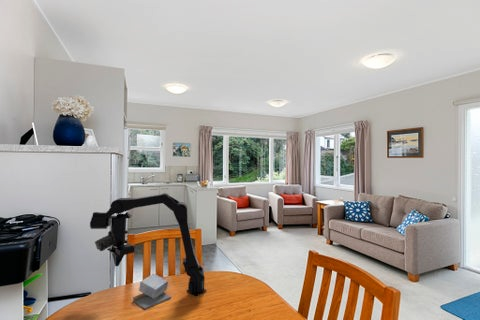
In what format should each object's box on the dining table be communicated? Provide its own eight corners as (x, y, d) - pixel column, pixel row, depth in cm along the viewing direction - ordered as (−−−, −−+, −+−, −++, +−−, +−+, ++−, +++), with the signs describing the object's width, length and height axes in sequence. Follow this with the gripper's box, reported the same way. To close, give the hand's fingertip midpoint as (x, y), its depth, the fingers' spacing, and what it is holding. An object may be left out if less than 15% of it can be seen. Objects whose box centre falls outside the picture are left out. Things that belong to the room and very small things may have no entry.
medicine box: (138, 290, 109) (153, 299, 106) (140, 280, 109) (155, 290, 105) (151, 282, 116) (166, 290, 113) (153, 272, 116) (168, 281, 112)
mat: (159, 290, 114) (159, 287, 114) (171, 298, 109) (171, 294, 109) (132, 301, 105) (133, 297, 105) (144, 309, 99) (144, 305, 99)
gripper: (89, 227, 109) (87, 265, 109) (108, 236, 97) (106, 278, 97) (115, 223, 118) (114, 258, 117) (136, 231, 106) (135, 270, 105)
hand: (116, 266), depth 109 cm, fingers closed
